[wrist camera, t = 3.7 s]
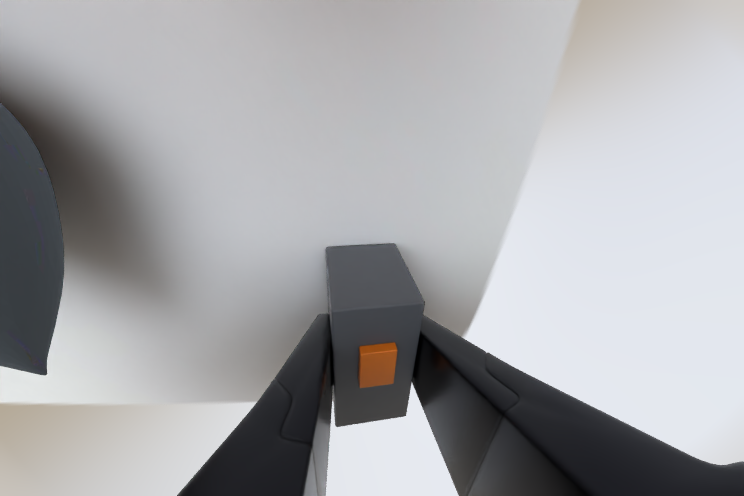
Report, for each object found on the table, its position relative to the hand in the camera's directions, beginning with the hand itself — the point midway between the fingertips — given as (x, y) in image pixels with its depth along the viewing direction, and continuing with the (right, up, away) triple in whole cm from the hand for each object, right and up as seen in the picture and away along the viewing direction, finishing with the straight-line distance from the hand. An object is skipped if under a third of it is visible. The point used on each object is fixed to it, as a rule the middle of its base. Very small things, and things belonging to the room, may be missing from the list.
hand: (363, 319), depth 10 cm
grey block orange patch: (0, +1, +1) cm, 1 cm away
